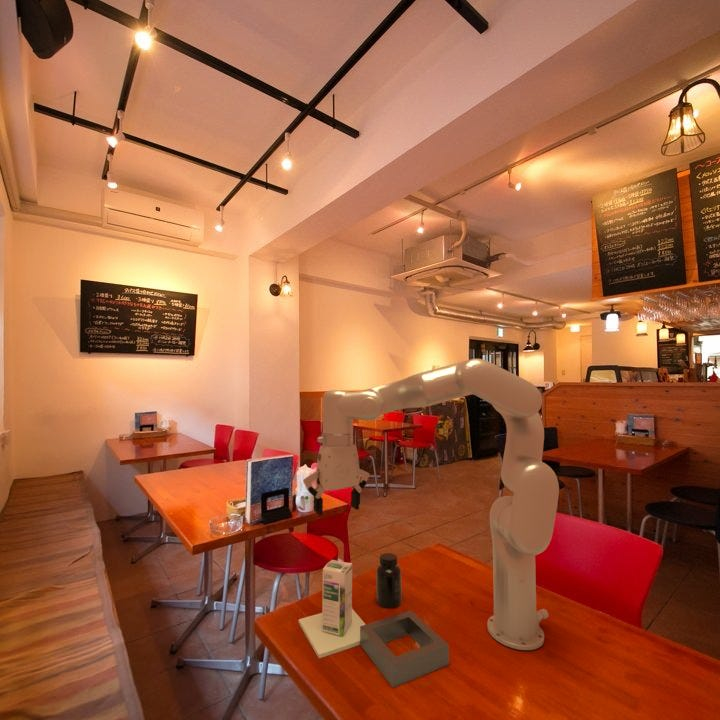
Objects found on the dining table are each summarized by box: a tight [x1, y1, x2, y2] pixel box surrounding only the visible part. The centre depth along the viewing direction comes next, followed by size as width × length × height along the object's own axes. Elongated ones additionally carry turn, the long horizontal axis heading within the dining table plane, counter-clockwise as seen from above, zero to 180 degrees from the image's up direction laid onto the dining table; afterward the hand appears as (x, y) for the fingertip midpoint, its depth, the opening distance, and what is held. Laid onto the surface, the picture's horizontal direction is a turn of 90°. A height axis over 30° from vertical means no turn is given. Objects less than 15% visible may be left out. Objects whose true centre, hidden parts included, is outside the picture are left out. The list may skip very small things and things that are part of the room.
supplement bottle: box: [375, 552, 403, 609], centre depth 105 cm, size 7×7×12 cm
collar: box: [359, 610, 450, 688], centre depth 85 cm, size 14×14×4 cm
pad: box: [298, 608, 367, 659], centre depth 92 cm, size 14×14×1 cm
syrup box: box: [321, 559, 353, 637], centre depth 93 cm, size 6×6×14 cm
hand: (337, 510), depth 94 cm, fingers open, 9 cm apart
